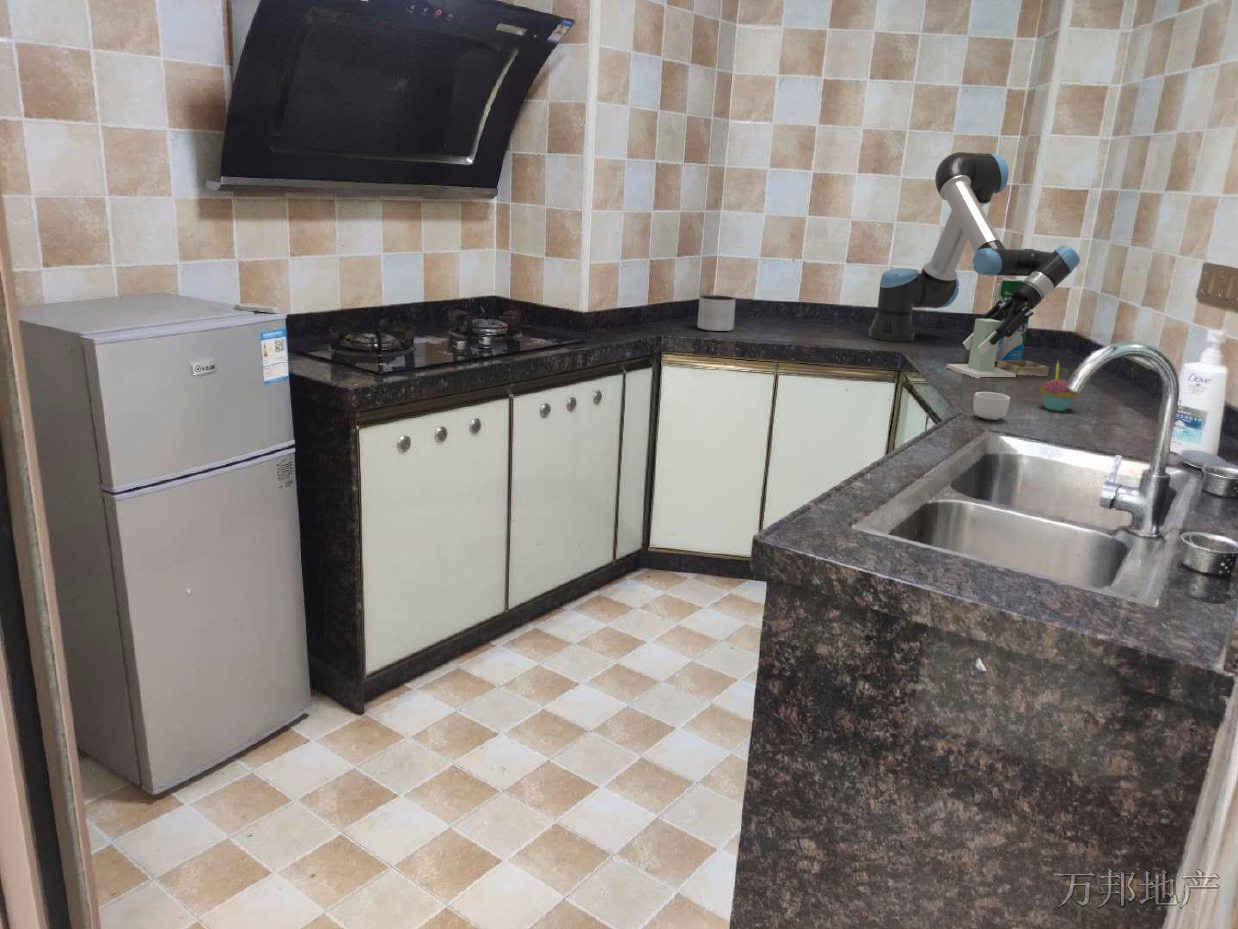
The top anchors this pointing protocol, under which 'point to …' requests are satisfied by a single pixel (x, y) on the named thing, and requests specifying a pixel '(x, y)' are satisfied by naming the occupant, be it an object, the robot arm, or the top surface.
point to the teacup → (990, 404)
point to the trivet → (977, 374)
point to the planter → (716, 313)
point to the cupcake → (1056, 393)
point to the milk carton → (1015, 343)
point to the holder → (1023, 368)
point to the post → (980, 334)
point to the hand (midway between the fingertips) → (973, 348)
